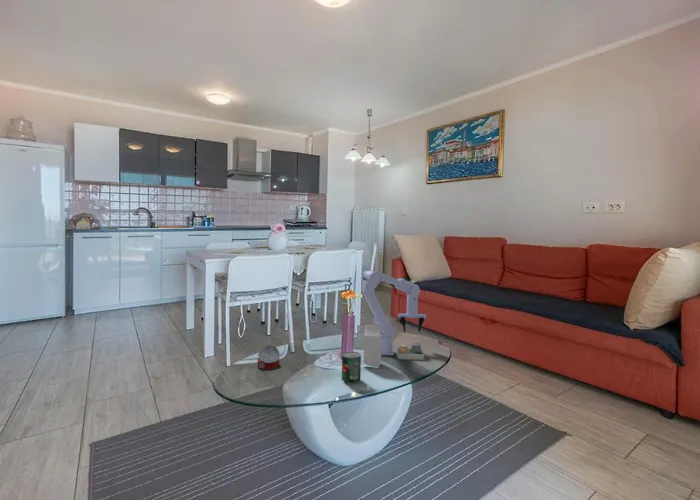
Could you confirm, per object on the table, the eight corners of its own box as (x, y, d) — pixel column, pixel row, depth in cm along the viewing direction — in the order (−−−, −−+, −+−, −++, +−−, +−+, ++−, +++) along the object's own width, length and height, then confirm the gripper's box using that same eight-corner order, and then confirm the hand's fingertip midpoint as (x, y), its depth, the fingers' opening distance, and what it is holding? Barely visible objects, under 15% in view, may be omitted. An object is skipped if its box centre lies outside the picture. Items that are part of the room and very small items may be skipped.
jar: (400, 357, 183) (400, 346, 182) (399, 354, 186) (399, 344, 186) (407, 357, 182) (407, 346, 182) (406, 354, 186) (407, 344, 186)
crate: (397, 359, 180) (397, 353, 180) (396, 353, 190) (396, 347, 190) (424, 360, 179) (424, 354, 179) (421, 354, 189) (421, 348, 189)
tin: (411, 357, 182) (411, 345, 182) (410, 354, 186) (410, 342, 186) (420, 358, 181) (421, 345, 181) (419, 355, 186) (420, 342, 186)
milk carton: (379, 369, 166) (379, 327, 165) (363, 368, 168) (364, 326, 167) (380, 364, 173) (381, 324, 172) (365, 363, 174) (366, 323, 174)
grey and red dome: (278, 372, 173) (288, 354, 172) (267, 378, 164) (277, 359, 163) (260, 359, 177) (270, 341, 176) (248, 363, 167) (258, 344, 166)
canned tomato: (337, 380, 153) (337, 354, 152) (350, 375, 158) (350, 350, 158) (351, 385, 147) (352, 358, 147) (364, 380, 153) (364, 354, 153)
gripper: (398, 307, 191) (398, 333, 192) (427, 307, 191) (426, 333, 191) (398, 304, 198) (397, 329, 199) (425, 305, 198) (424, 330, 198)
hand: (411, 331), depth 195 cm, fingers open, 7 cm apart
